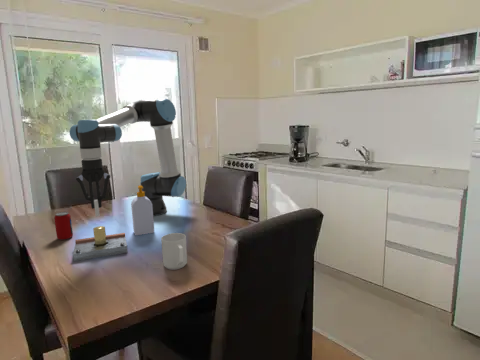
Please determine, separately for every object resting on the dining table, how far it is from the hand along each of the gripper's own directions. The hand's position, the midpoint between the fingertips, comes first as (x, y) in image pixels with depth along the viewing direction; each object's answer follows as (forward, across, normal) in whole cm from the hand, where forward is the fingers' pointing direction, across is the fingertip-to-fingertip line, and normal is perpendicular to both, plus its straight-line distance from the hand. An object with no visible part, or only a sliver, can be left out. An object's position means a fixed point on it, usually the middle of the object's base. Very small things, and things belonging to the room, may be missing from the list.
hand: (97, 215), depth 137 cm
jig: (+15, 0, 0) cm, 15 cm away
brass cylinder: (+15, 0, 0) cm, 15 cm away
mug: (+16, -26, +29) cm, 42 cm away
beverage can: (+16, +16, -24) cm, 33 cm away
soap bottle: (+16, -19, -16) cm, 29 cm away
